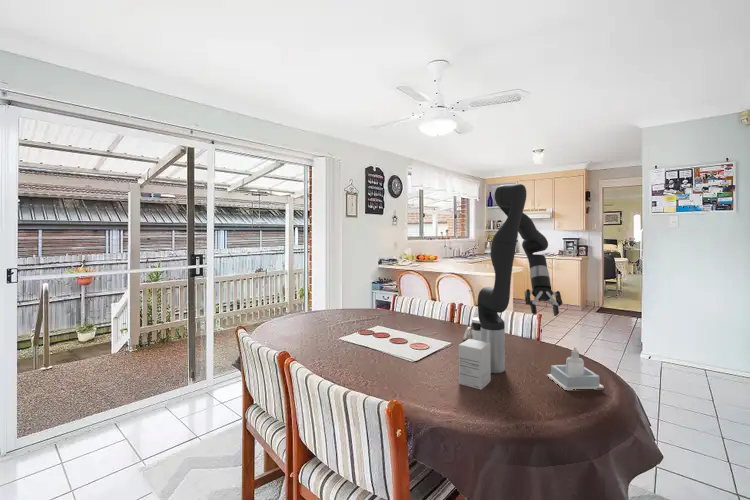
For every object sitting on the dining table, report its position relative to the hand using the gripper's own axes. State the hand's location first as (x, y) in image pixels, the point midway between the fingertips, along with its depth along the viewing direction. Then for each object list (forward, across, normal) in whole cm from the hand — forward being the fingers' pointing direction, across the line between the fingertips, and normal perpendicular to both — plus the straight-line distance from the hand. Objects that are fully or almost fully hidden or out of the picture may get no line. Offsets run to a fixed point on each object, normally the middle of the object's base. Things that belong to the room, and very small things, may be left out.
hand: (545, 314), depth 151 cm
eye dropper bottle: (+26, +5, -4) cm, 26 cm away
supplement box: (+29, -31, -2) cm, 42 cm away
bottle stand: (+26, +5, -4) cm, 27 cm away
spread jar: (+3, -19, +40) cm, 44 cm away
